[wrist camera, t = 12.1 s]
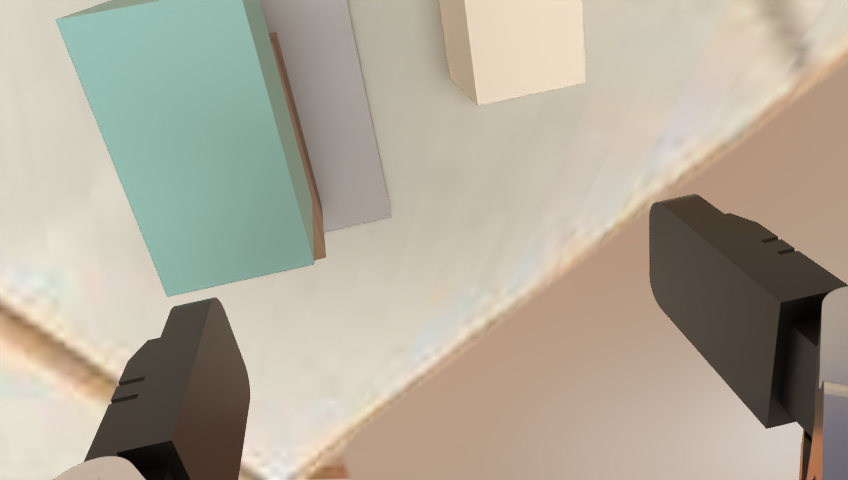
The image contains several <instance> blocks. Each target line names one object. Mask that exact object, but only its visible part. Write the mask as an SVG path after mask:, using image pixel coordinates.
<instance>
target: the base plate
mask: <svg viewBox="0 0 848 480" xmlns="http://www.w3.org/2000/svg"><path fill="white" fill-rule="evenodd" d="M260 3H261V6H262V10H263V14H264V18H265V22H266V26H267V29H268V33H274V32H277V36H278V40H279V44H280V48H281V51H282V55H283V59H284V63H285V67H286V71H287V74H288V78H289V82H290V86H291V90H292V94H293V97H294V101H295V105H296V109H297V113H298V117H299V120H300V124H301V128H302V132H303V136H304V140H305V143H306V147H307V151H308V155H309V159H310V163H311V166H312V170H313V174H314V178H315V182H316V186H317V189H318V193H319V197H320V201H321V205H322V214H323V227H324V232H328V231H333V230H337V229H342V228H346V227H351V226H355V225H360V224H364V223H369V222H373V221H377V220H382V219H386V218H391V217H392V216H391V211H390V206H389V201H388V197H387V192H386V187H385V182H384V177H383V173H382V168H381V163H380V158H379V153H378V149H377V144H376V139H375V134H374V129H373V124H372V120H371V115H370V110H369V105H368V100H367V96H366V91H365V86H364V81H363V76H362V72H361V67H360V62H359V57H358V52H357V48H356V43H355V38H354V33H353V28H352V23H351V19H350V14H349V9H348V4H347V0H260Z"/></svg>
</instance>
